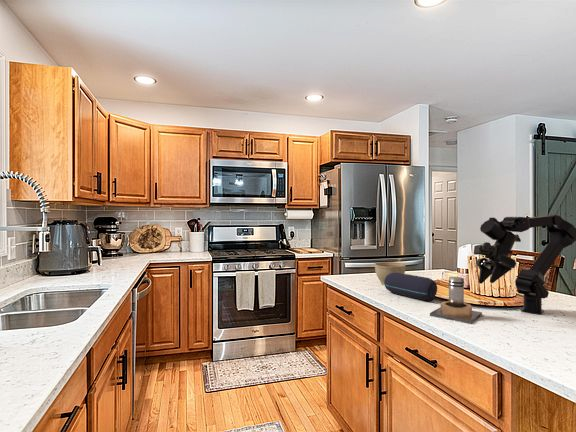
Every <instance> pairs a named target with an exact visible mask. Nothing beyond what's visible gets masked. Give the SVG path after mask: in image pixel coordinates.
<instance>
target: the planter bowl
mask: <svg viewBox="0 0 576 432" xmlns="http://www.w3.org/2000/svg"><path fill="white" fill-rule="evenodd" d="M406 267H407V265H406V264H405V263H402V262H396V261H394V262H393V261H381V262H375V263H374V271H375V274H376V277H377V279H378V280H379V282H380V285H383V286H385V284H384V281H385V278H386V276H387V275H388V274H390V273H396V272H397V273H403V274H406Z"/></svg>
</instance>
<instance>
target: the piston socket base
mask: <svg viewBox="0 0 576 432" xmlns="http://www.w3.org/2000/svg"><path fill="white" fill-rule="evenodd" d="M429 316H430V317H434V318H439V319H445V320H449V321H454V320H455V322H459V321H460V323H464V324H472V323H474V322H475V321H477V320H478V319H479V318H480V317H481V316H483V312H482V311H477V310H473V305H471V304H470V303H466V302H464V307H452V306H449V300H447V301H442V302H440V306H439V307H438V308H436V309H434V310H433V311H431V312H429Z"/></svg>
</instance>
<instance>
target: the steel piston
mask: <svg viewBox="0 0 576 432" xmlns="http://www.w3.org/2000/svg"><path fill="white" fill-rule="evenodd" d="M464 297H465V279H464V277H460V276H449V277H448V301H449V306H452V307H464V303H465V299H464Z"/></svg>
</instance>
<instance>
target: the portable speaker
mask: <svg viewBox="0 0 576 432" xmlns="http://www.w3.org/2000/svg"><path fill="white" fill-rule="evenodd" d="M384 284H385V285H384V288H385V289H386V290H387V291H388V292H390V293H392V294H396V295H400V296H404V297H409V298H413V299H417V300H421V301H425V302H429V301H433V300H434V299H435V297H436V296H437V293H438V285H437V282H436V281H435V280H433V279H432V278H430V277H424V276H419V275H415V274H414V275H413V274H408V273H404V274H403V273H397V272H396V273H390V274H388V275H387V276H386V278H385V281H384ZM435 295H436V296H435Z"/></svg>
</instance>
